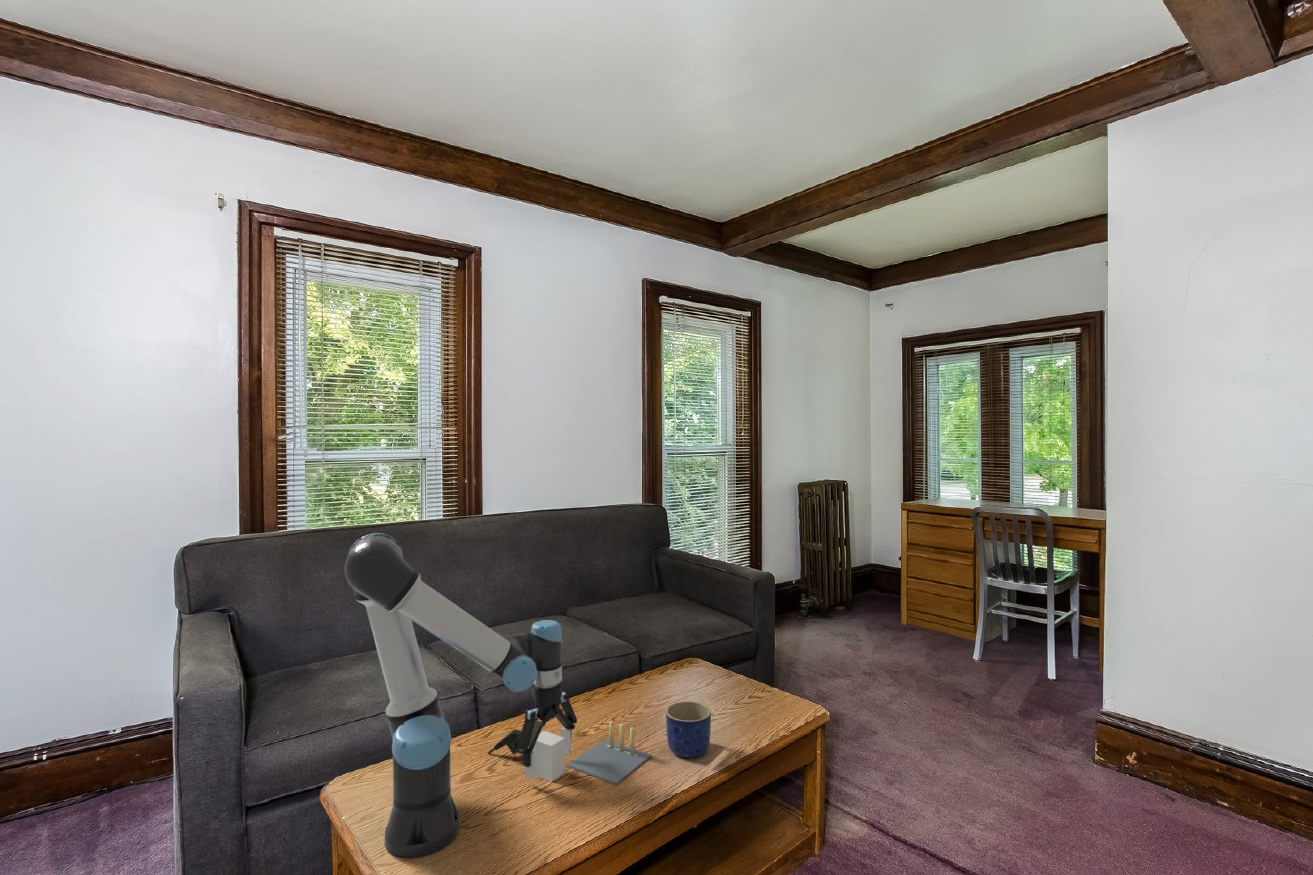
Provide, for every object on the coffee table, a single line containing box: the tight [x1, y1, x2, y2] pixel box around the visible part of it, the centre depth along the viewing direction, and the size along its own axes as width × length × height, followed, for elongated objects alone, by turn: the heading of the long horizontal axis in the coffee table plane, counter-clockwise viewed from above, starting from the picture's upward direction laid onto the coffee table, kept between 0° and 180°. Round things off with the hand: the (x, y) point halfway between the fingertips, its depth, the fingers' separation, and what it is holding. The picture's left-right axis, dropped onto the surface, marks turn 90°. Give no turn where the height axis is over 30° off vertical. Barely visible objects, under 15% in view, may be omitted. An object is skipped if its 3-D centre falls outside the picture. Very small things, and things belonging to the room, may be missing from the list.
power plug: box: [487, 728, 523, 757], centre depth 166 cm, size 6×8×12 cm
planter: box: [665, 700, 712, 759], centre depth 168 cm, size 12×12×11 cm
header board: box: [566, 720, 652, 785], centre depth 163 cm, size 16×16×7 cm
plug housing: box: [532, 730, 566, 783], centre depth 157 cm, size 5×7×9 cm
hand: (548, 765), depth 157 cm, fingers open, 13 cm apart
